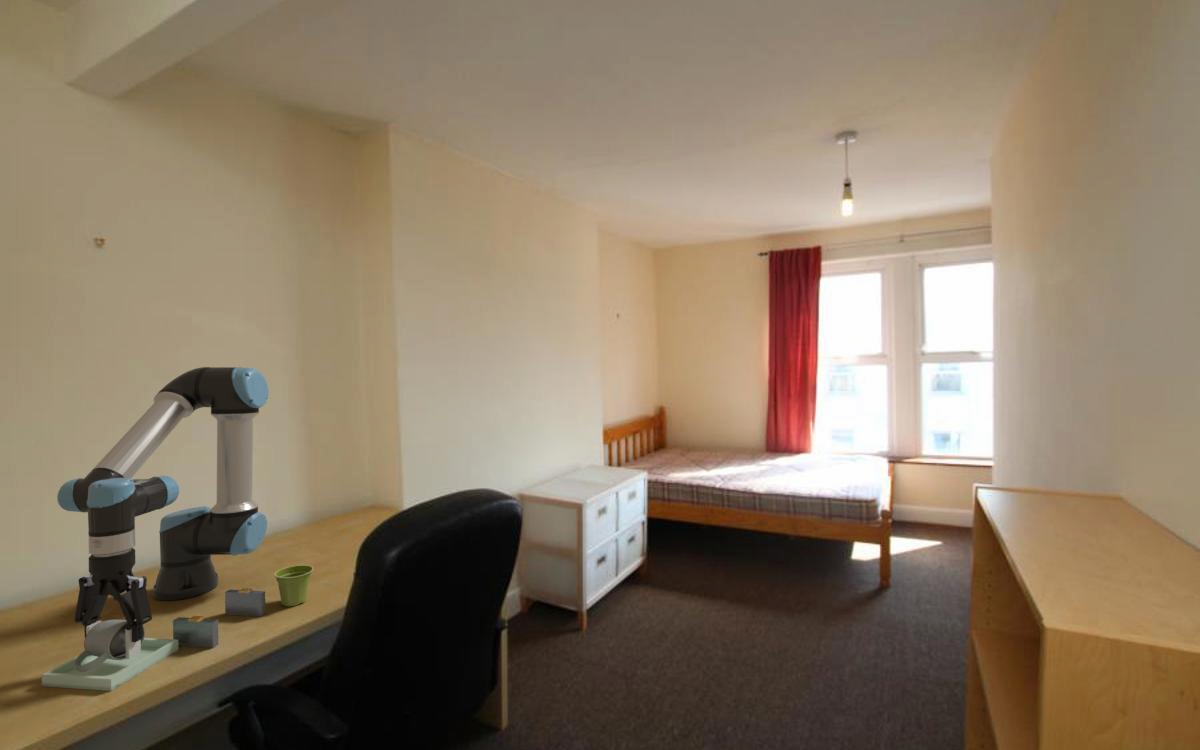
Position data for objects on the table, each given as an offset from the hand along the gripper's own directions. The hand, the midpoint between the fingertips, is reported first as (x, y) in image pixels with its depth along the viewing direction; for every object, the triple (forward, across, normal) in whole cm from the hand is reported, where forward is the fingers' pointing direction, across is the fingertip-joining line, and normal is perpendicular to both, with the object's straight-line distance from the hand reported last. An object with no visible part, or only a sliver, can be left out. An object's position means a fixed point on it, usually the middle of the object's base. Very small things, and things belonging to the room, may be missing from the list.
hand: (113, 654), depth 118 cm
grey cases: (+3, +10, +18) cm, 21 cm away
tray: (+3, 0, 0) cm, 3 cm away
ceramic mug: (0, 0, -1) cm, 1 cm away
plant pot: (+3, +18, +34) cm, 39 cm away
